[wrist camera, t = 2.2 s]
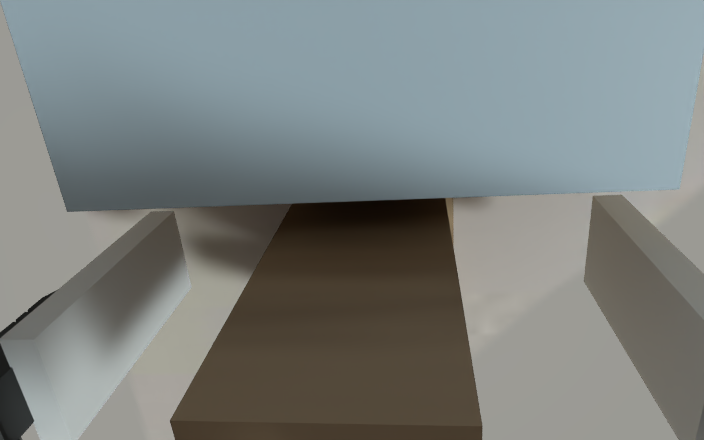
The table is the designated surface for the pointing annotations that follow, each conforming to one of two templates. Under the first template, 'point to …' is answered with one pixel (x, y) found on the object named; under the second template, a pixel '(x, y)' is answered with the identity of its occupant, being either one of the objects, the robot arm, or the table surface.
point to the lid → (357, 98)
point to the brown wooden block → (343, 334)
